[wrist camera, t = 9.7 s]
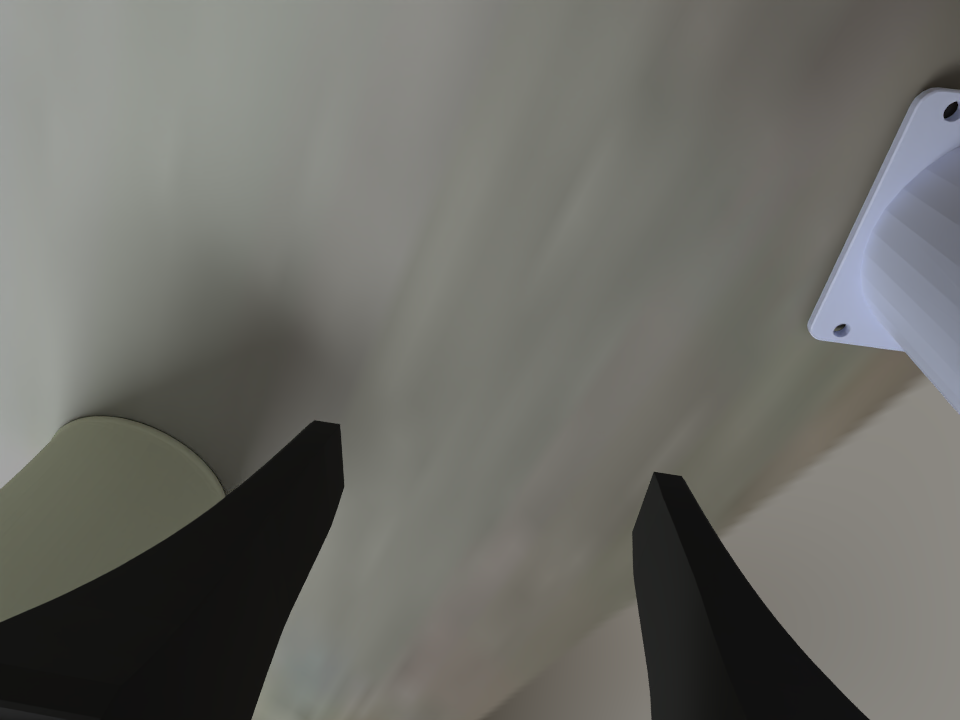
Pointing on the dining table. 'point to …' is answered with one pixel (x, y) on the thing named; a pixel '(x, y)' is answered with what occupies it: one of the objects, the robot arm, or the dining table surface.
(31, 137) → the dining table surface
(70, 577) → the can
